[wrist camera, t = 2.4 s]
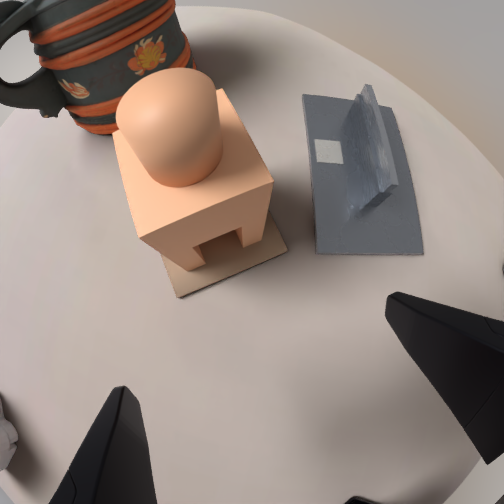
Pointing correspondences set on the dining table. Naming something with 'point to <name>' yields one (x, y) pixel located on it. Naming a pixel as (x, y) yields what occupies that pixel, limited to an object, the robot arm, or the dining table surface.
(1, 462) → the white box
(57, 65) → the beer stein
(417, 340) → the robot arm
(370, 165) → the grey finned plate
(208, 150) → the arched stamp block
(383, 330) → the dining table surface
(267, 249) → the thin square tan tile
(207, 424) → the dining table surface
